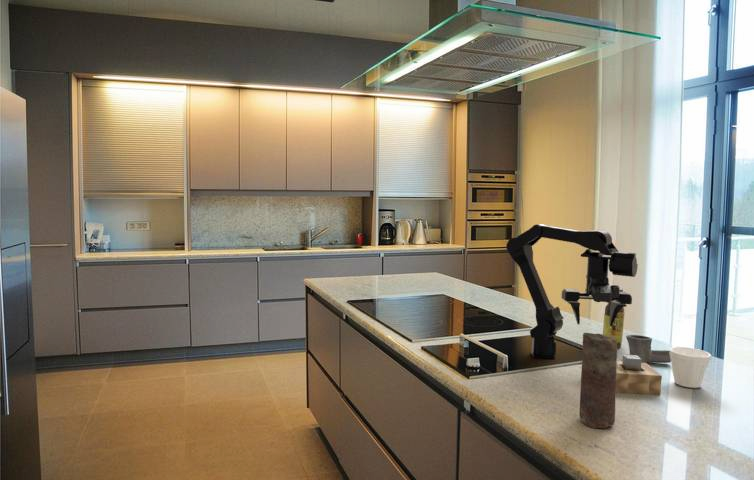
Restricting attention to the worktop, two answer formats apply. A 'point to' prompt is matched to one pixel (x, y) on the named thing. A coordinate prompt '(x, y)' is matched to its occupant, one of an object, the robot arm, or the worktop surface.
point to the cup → (689, 366)
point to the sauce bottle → (614, 324)
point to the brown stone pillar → (598, 380)
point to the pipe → (646, 350)
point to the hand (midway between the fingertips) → (594, 325)
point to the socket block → (638, 380)
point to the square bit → (631, 363)
